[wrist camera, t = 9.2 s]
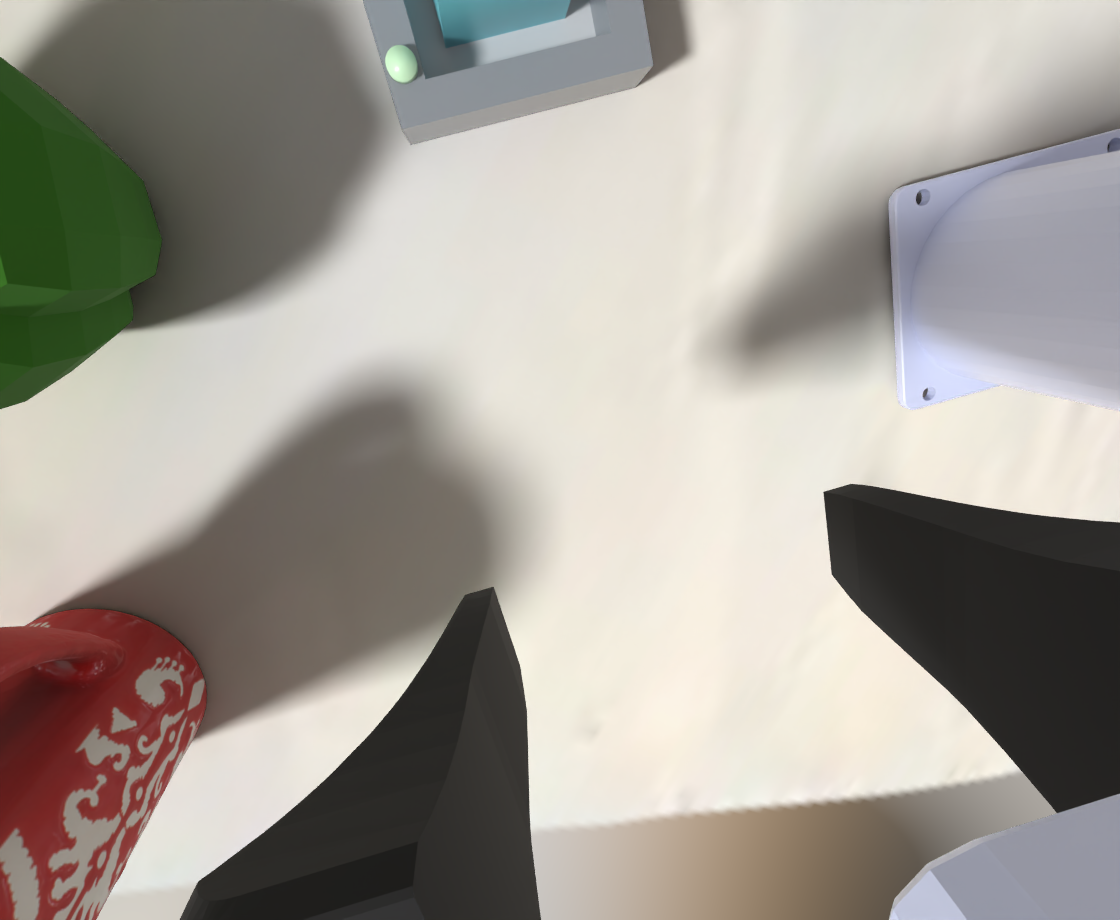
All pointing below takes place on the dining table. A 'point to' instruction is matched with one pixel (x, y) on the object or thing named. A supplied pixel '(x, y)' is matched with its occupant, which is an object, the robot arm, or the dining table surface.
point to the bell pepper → (62, 239)
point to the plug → (493, 17)
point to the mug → (85, 752)
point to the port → (505, 64)
